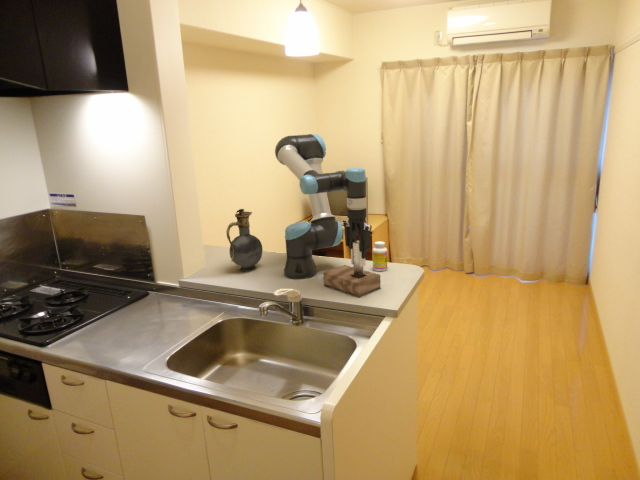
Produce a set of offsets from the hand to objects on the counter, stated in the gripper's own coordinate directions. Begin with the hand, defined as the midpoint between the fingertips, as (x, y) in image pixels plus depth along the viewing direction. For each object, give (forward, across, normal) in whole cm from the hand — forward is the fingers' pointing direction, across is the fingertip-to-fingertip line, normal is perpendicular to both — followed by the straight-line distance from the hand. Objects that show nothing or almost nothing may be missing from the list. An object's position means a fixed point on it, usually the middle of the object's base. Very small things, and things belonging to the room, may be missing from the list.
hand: (358, 264), depth 183 cm
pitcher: (+11, -59, -17) cm, 62 cm away
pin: (+4, 0, 0) cm, 4 cm away
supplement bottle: (+11, -10, +25) cm, 29 cm away
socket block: (+11, -4, 0) cm, 11 cm away
